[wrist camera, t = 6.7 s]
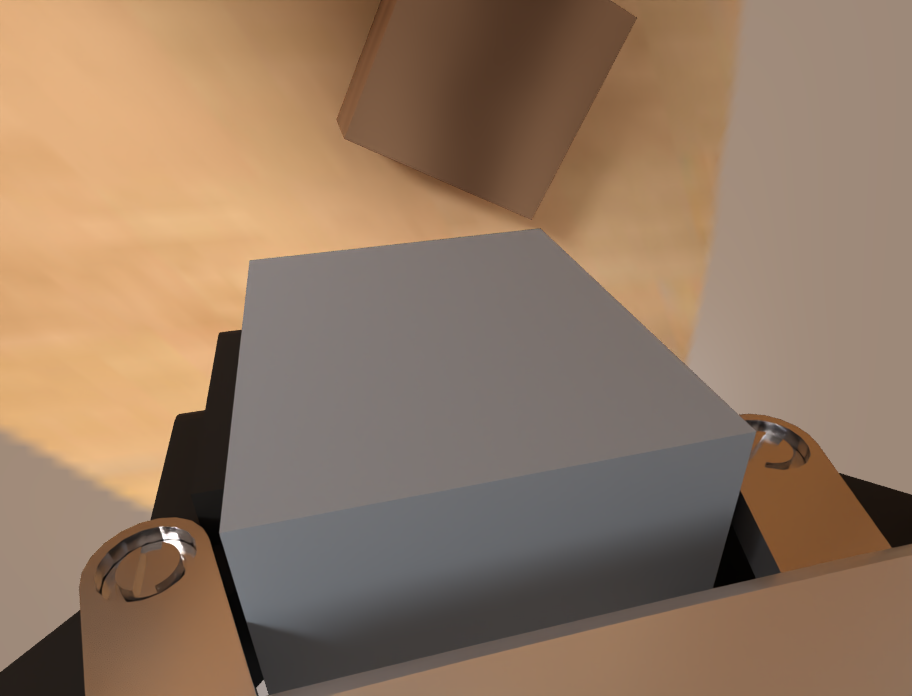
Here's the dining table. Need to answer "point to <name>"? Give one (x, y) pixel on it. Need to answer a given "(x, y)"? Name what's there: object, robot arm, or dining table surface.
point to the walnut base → (482, 89)
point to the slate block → (459, 455)
